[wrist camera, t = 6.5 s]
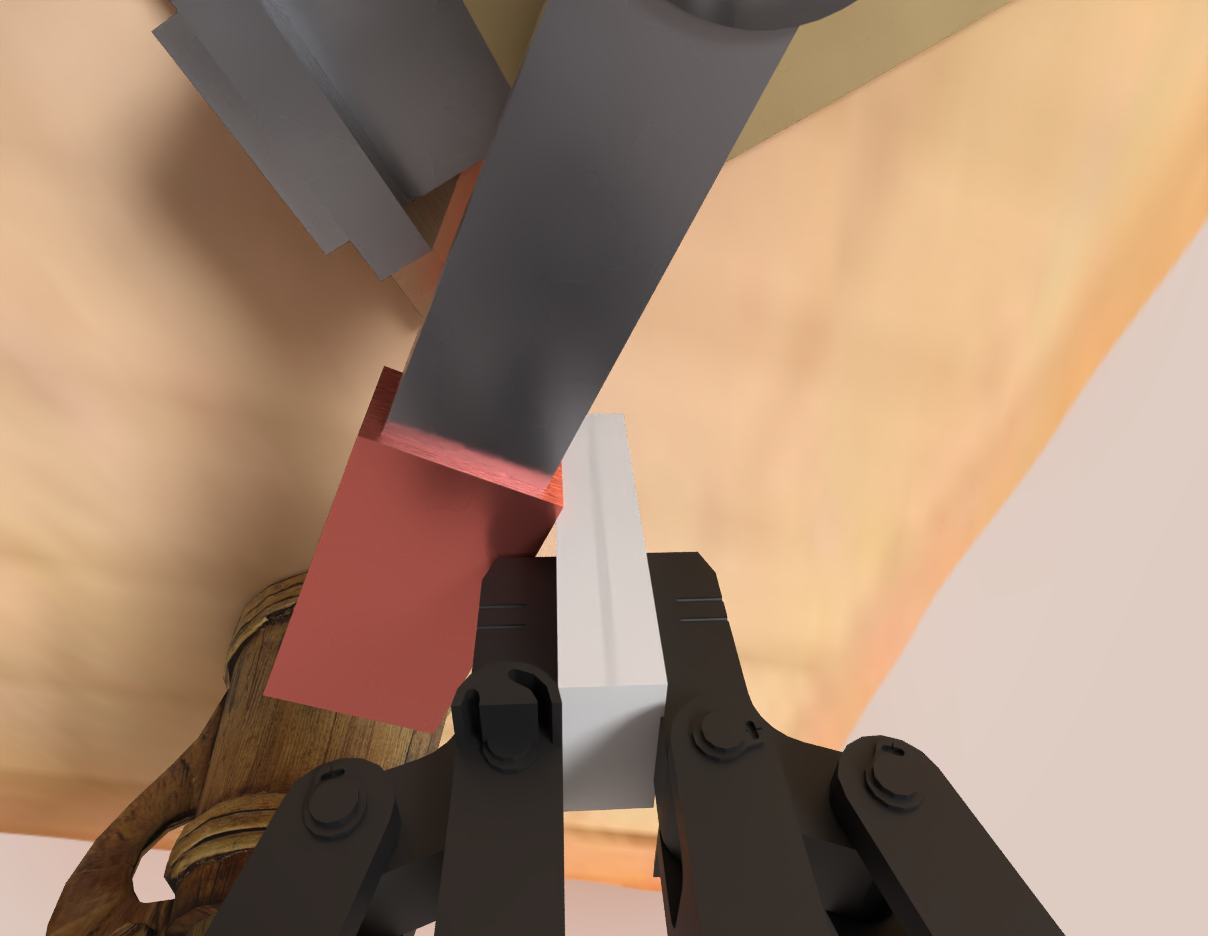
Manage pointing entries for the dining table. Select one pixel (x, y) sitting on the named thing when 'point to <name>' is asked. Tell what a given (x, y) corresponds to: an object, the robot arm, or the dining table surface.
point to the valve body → (449, 101)
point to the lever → (522, 336)
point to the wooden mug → (222, 790)
